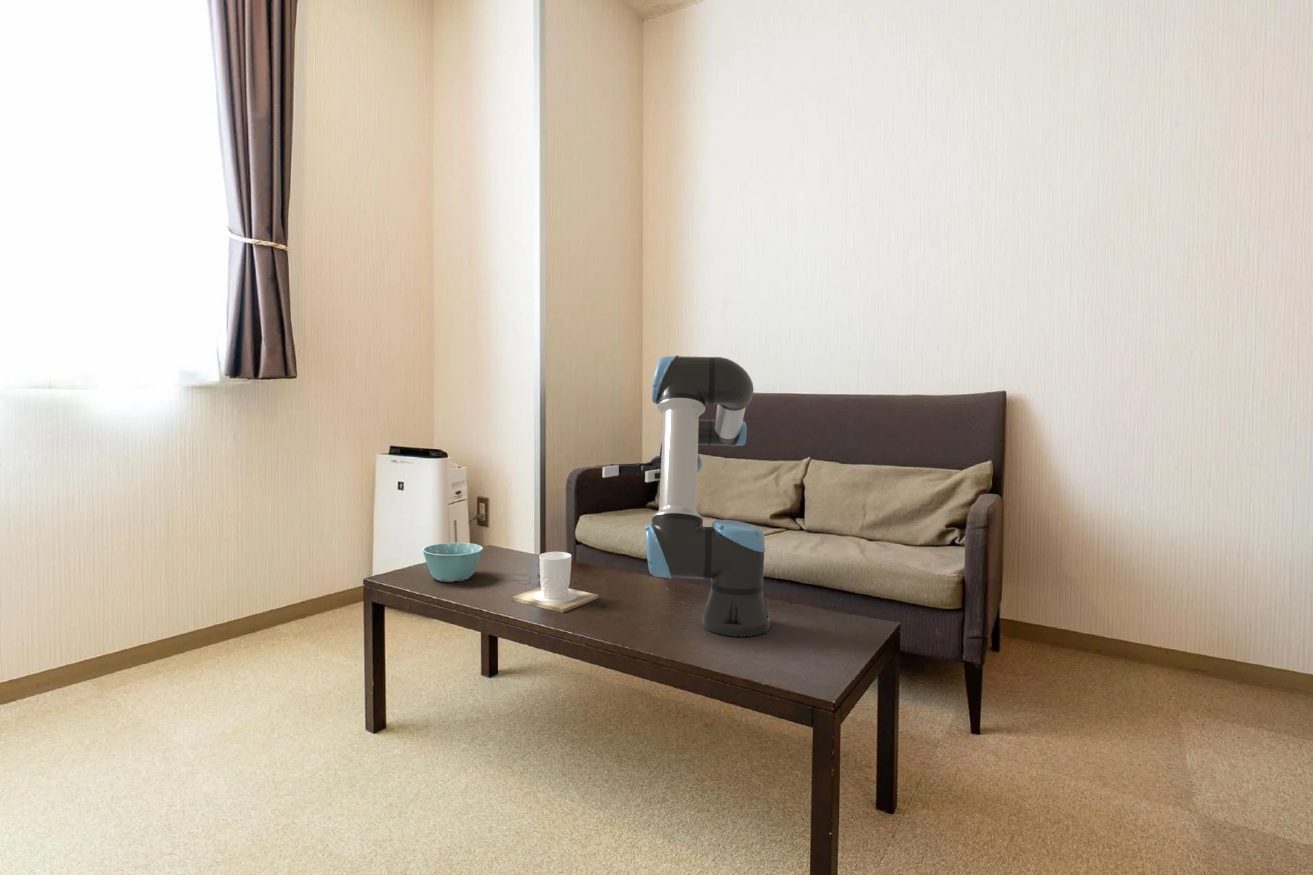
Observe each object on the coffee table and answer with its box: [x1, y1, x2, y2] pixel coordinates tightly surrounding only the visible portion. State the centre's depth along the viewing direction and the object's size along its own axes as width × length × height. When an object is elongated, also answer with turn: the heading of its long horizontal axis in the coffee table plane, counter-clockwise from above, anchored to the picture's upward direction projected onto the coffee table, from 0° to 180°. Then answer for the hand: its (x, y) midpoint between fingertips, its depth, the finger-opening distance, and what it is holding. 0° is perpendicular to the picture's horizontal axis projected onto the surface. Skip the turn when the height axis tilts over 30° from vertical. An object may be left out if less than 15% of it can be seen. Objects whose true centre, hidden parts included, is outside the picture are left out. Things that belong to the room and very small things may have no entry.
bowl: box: [422, 542, 484, 583], centre depth 193 cm, size 16×16×8 cm
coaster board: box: [511, 586, 599, 613], centre depth 176 cm, size 16×14×1 cm
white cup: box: [538, 551, 573, 599], centre depth 176 cm, size 8×8×10 cm
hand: (624, 474), depth 186 cm, fingers open, 13 cm apart
